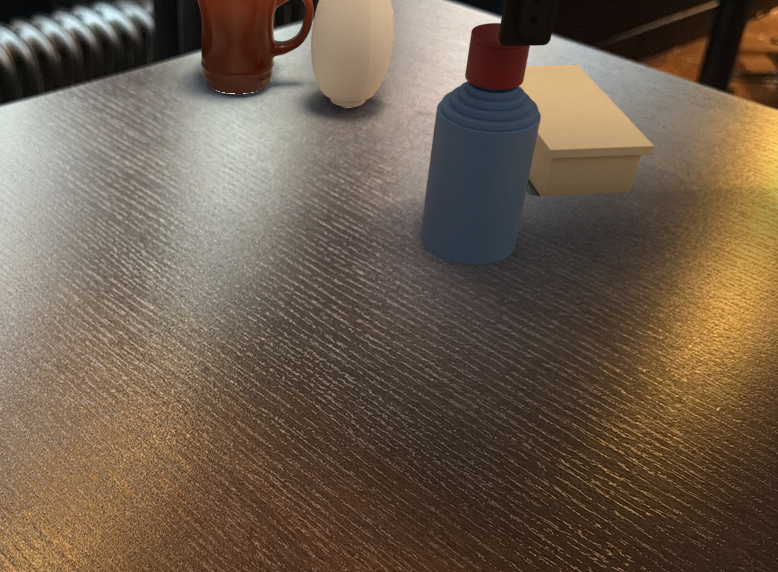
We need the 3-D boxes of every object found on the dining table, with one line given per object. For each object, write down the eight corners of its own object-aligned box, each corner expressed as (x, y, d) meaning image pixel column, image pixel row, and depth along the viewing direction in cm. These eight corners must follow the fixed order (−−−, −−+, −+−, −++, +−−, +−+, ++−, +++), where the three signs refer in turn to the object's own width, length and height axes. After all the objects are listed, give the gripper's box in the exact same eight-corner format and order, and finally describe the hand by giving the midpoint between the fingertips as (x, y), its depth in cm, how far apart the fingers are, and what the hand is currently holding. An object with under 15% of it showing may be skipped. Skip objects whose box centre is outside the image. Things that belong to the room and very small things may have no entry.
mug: (195, 102, 101) (192, -3, 95) (195, 69, 108) (193, -30, 101) (313, 101, 101) (318, -3, 95) (306, 68, 108) (311, -31, 102)
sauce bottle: (371, 126, 97) (388, -73, 85) (296, 112, 99) (304, -83, 88) (396, 97, 102) (416, -94, 91) (325, 84, 105) (336, -103, 93)
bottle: (496, 233, 81) (535, 20, 70) (523, 281, 75) (570, 58, 65) (408, 237, 80) (435, 23, 70) (429, 285, 75) (461, 61, 64)
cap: (514, 67, 71) (522, 22, 69) (531, 89, 67) (540, 42, 65) (458, 69, 70) (464, 23, 68) (473, 91, 67) (480, 44, 65)
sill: (567, 114, 99) (577, 64, 96) (639, 200, 85) (654, 145, 82) (480, 117, 99) (488, 67, 95) (538, 204, 85) (550, 149, 82)
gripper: (687, -279, 49) (603, 65, 60) (567, -308, 62) (516, -23, 73) (538, -280, 48) (481, 68, 59) (449, -309, 62) (415, -21, 73)
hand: (500, 17), depth 66 cm, fingers open, 9 cm apart
